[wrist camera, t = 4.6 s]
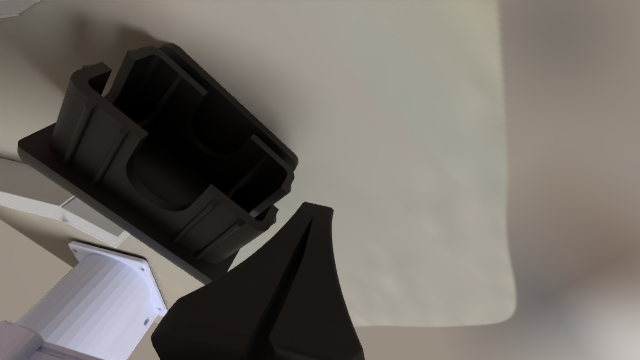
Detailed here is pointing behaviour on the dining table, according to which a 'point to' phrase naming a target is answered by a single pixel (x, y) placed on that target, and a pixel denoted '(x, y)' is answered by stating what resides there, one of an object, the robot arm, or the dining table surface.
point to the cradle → (49, 183)
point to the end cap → (166, 158)
